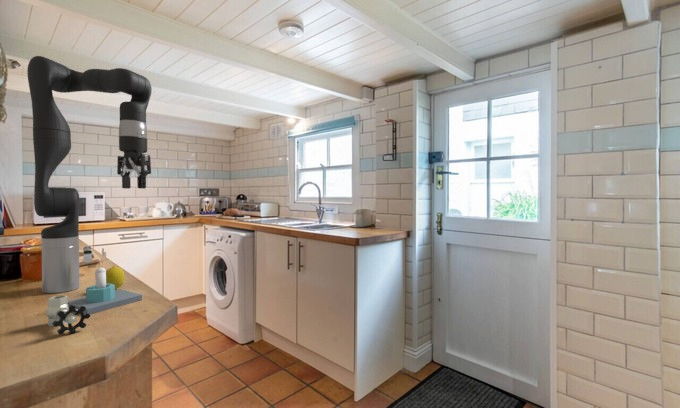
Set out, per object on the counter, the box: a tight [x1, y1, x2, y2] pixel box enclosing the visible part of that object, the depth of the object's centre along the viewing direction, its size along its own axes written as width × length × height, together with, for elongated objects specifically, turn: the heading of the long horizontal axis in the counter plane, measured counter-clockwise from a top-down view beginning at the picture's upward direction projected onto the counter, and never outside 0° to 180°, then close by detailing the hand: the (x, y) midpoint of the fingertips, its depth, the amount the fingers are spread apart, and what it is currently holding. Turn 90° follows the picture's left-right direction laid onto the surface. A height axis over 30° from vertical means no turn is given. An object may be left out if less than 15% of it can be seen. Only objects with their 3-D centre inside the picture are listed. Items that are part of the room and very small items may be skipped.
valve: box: [45, 294, 91, 335], centre depth 76 cm, size 7×7×12 cm
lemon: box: [106, 265, 126, 290], centre depth 105 cm, size 6×6×8 cm
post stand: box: [67, 267, 143, 315], centre depth 93 cm, size 12×14×10 cm
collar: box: [85, 284, 115, 303], centre depth 92 cm, size 6×6×4 cm
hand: (133, 188), depth 102 cm, fingers open, 8 cm apart
